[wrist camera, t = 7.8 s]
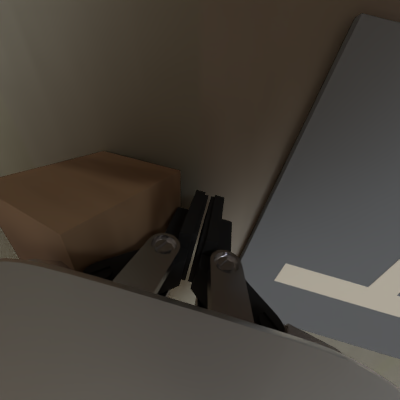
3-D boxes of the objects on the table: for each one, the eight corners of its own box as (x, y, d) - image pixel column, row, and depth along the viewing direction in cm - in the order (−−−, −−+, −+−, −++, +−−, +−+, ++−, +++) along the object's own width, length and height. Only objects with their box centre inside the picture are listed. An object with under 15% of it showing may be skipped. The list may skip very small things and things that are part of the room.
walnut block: (103, 151, 12) (-26, 183, 8) (180, 170, 10) (59, 234, 5) (118, 225, 15) (32, 280, 11) (181, 254, 13) (104, 341, 8)
